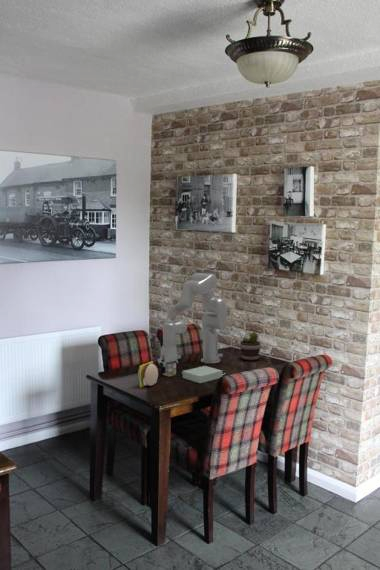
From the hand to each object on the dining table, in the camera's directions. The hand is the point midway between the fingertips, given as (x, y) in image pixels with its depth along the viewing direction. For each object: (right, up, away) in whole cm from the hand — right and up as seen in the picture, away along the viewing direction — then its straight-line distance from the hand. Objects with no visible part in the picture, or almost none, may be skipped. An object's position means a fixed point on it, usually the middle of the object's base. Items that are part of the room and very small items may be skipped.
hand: (169, 371), depth 335 cm
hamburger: (-11, -5, -20) cm, 23 cm away
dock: (+20, -3, -6) cm, 21 cm away
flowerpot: (+52, +2, +37) cm, 64 cm away
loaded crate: (0, -2, 0) cm, 2 cm away
